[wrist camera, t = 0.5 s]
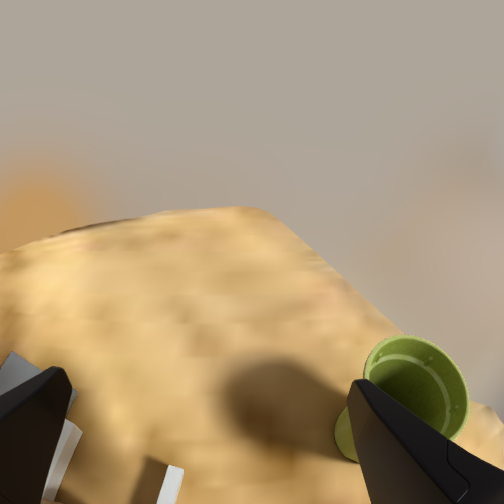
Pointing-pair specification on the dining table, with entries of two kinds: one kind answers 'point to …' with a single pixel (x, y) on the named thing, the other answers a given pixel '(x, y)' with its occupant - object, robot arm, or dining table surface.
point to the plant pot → (414, 387)
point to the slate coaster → (20, 374)
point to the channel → (63, 458)
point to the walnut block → (49, 502)
